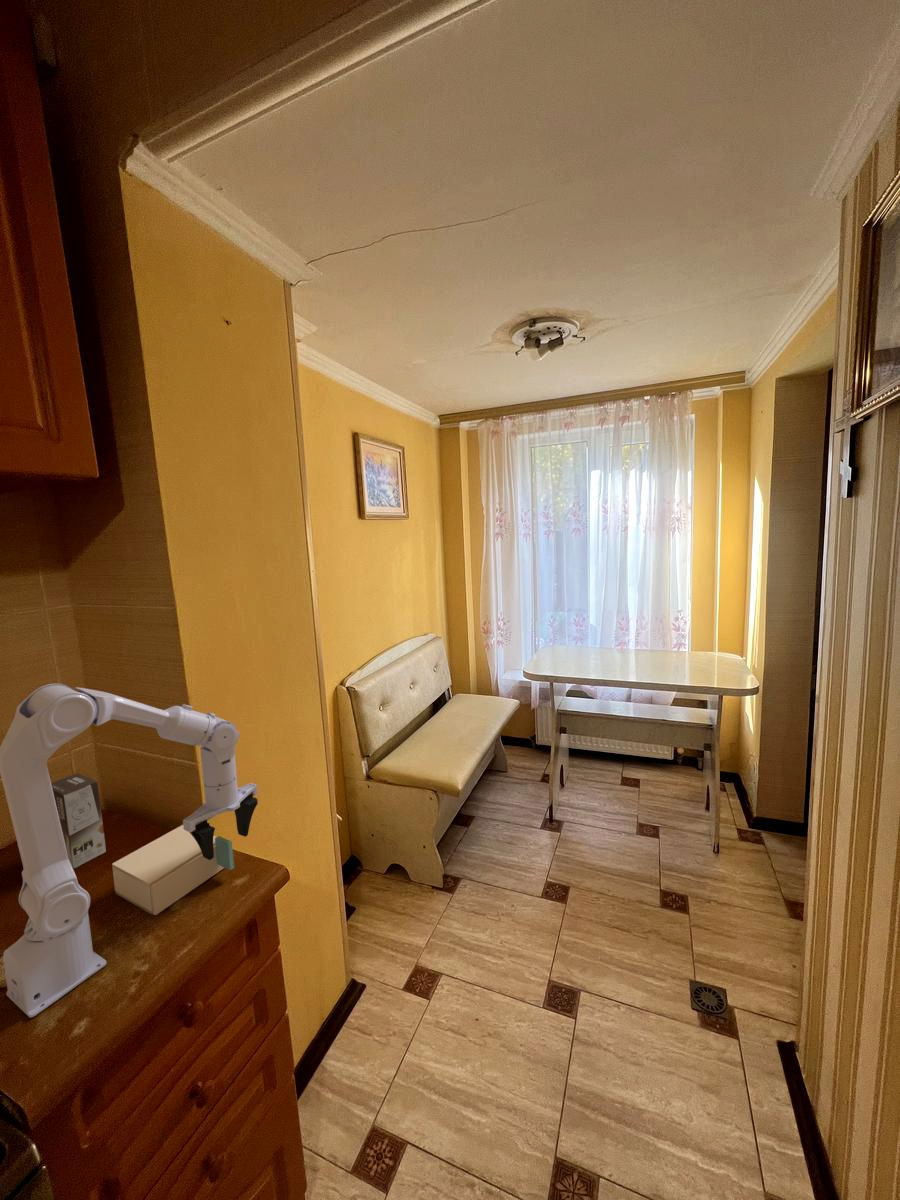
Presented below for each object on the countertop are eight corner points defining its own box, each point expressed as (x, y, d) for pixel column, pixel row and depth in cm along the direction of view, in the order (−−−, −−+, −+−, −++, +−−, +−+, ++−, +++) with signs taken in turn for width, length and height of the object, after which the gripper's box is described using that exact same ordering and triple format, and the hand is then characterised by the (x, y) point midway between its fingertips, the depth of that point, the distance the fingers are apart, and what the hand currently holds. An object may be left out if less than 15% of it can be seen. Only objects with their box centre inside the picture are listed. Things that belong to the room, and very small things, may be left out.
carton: (152, 915, 82) (149, 883, 81) (115, 893, 87) (111, 863, 87) (223, 866, 94) (221, 838, 93) (187, 850, 100) (184, 823, 99)
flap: (169, 923, 79) (165, 884, 79) (153, 914, 82) (149, 876, 81) (239, 872, 92) (236, 838, 91) (224, 865, 94) (221, 832, 93)
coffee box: (108, 851, 100) (99, 780, 98) (72, 870, 94) (63, 795, 93) (86, 840, 104) (77, 772, 103) (51, 857, 99) (41, 785, 97)
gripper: (197, 803, 81) (204, 875, 82) (265, 767, 93) (270, 830, 95) (173, 794, 84) (180, 863, 85) (242, 760, 97) (247, 821, 98)
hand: (226, 845), depth 90 cm, fingers open, 7 cm apart
